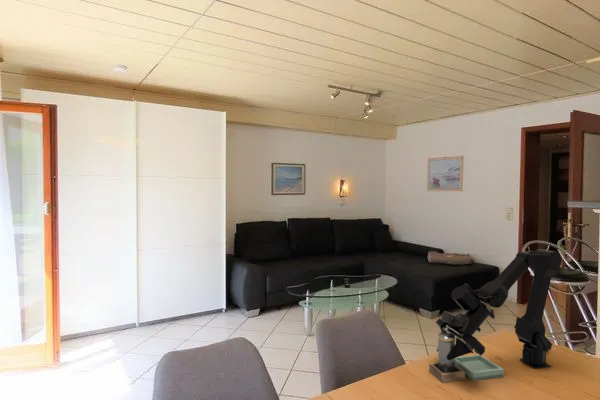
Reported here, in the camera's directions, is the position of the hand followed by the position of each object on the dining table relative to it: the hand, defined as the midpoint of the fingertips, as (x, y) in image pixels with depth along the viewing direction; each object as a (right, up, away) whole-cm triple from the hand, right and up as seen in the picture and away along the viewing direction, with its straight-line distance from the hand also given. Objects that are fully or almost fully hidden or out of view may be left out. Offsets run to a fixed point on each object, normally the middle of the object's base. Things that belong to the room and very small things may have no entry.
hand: (442, 355), depth 117 cm
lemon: (+43, -6, +17) cm, 47 cm away
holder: (+1, -7, 0) cm, 7 cm away
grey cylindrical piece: (+1, -7, 0) cm, 7 cm away
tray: (+13, -6, +3) cm, 15 cm away
